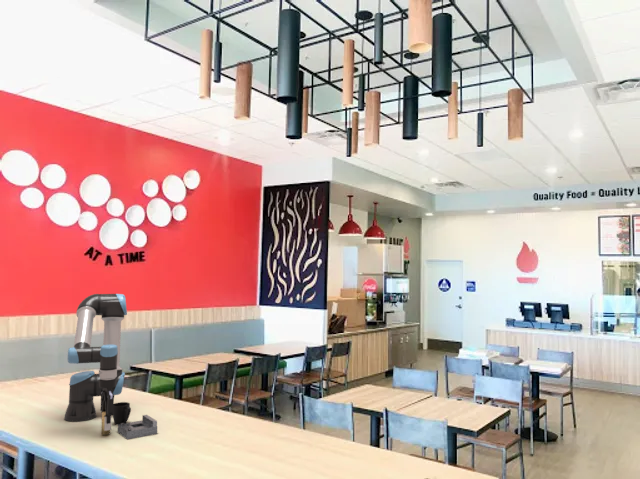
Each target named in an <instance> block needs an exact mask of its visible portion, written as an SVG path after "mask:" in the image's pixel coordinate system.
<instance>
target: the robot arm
mask: <svg viewBox="0 0 640 479" xmlns="http://www.w3.org/2000/svg"><path fill="white" fill-rule="evenodd" d="M75 315H76V317H77V321H76V329H75V336H74V343H73V347H69V348H68V351H67V362H68V363H69V364H91V363H98V364H99V370H98V373H95V371H94V370H85V371H81V372H76V373H74V374H72V375H71V376H70V378H69V384H68V385H69V392H68V393H69V394H68V404H67V407H66V411H65V412H64V413H65V414H64V418H63V419H64V421H66V422H84V421H90V420H92V419H96V417H97V410H96V406H95V403H94V398H95V397H100V410H99V411H100V412H101V414H102V412H103V411H106V415H104V417H105V423H104V431H107V430H112V429H111V428H112V417H113V404H115V402H114V400H115V396H118V395H121V394H122V392H123V387H124V381H125V375H126V374H125V373H126V372H124V371H123V368H122V367H121V366H120V358H121V334H122V333H121V332H122V331H121V330H122V321H123V320H124V319H125V316H127V315H128V310H127V300H126V296H125V294H123V293H93V294H91V295H88V296H87V297H85V298H84V299H83V300H81V302H80V303H79V304H78V306H77V309H76V313H75ZM96 316H101V318H100V319H101V320H102V321H103V342H102V343H103V344H102V345H101V346H92V345H91V344H92V337H93V326H94V319H95V318H96ZM100 426H102V423H101V424H100Z"/></svg>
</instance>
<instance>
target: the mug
mask: <svg viewBox="0 0 640 479" xmlns="http://www.w3.org/2000/svg"><path fill="white" fill-rule="evenodd" d="M130 404H131V403H130V402H125V401H122V402H114V404H113V415H112V420H113V423H114V425H117V426H118V424H120V423H128V421H129V417H130V415H131V411H132V410H131V409H132V408H131V407H130V406H131V405H130Z"/></svg>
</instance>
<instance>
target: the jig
mask: <svg viewBox="0 0 640 479" xmlns="http://www.w3.org/2000/svg"><path fill="white" fill-rule="evenodd" d="M117 433H118V434H119V435H121V436H122V437H123V438H124V439H126V440H131V439H136V438H137V437H138V438H143V437H147V436H153V435H158V420H156V419H155V418H153V417H151V416H150V415H148V414H142V419H141V420H137V421H131V422H126V423H120V424H118V425H117Z"/></svg>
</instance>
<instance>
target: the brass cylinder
mask: <svg viewBox="0 0 640 479" xmlns="http://www.w3.org/2000/svg"><path fill="white" fill-rule="evenodd" d="M101 412H102V411H101ZM104 415H106V411H103V412H102V413H101V424H102V426H101V425H100V426H101V427H100V428H101V432H100V434H101V435H103V436H104V435H110V434H111V430H112V429H111V430H107V431H104V423H105V417H104Z"/></svg>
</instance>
